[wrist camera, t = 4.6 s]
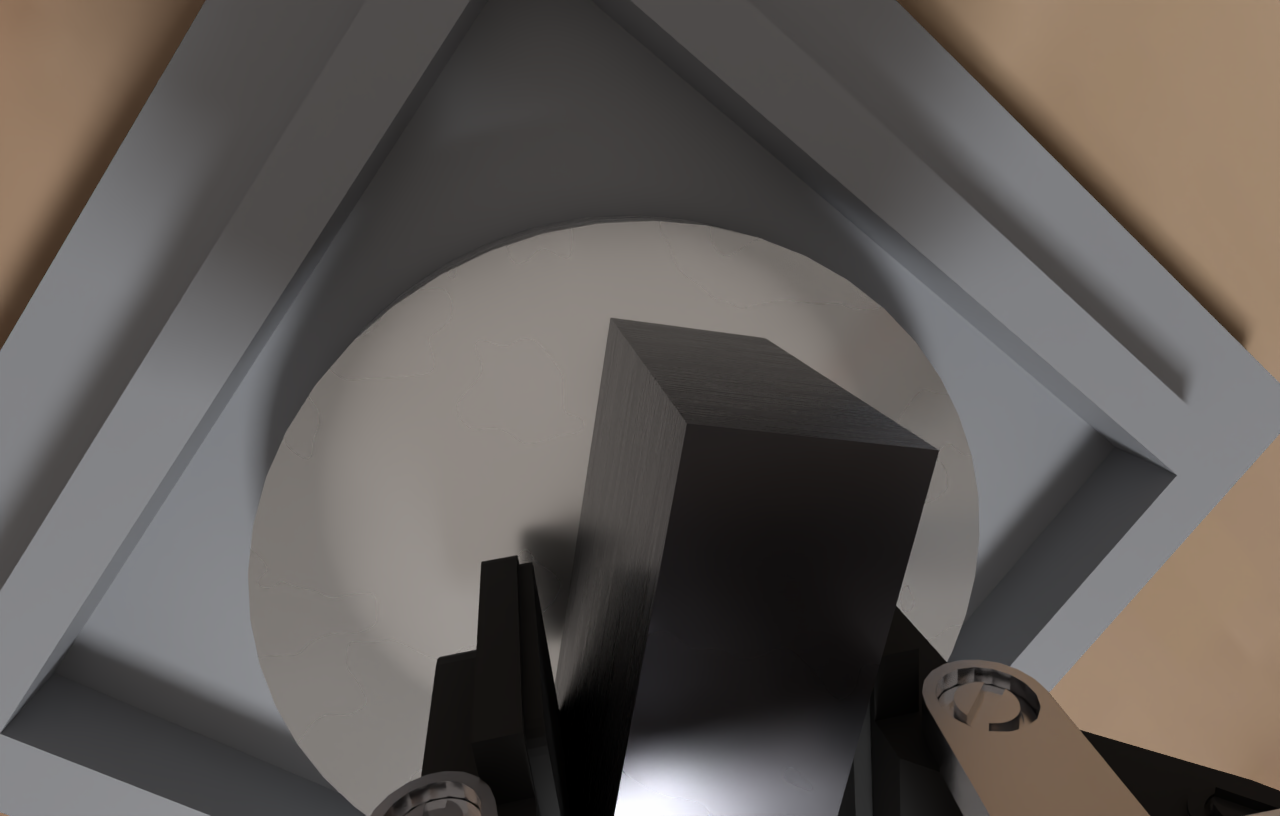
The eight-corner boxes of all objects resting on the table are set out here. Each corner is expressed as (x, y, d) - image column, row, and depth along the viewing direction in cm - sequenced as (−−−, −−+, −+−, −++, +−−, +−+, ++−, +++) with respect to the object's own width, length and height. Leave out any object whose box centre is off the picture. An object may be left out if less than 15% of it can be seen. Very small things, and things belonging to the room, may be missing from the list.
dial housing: (465, -359, 11) (453, -537, 8) (1238, 387, 17) (1381, 430, 14) (-150, 674, 14) (-315, 802, 11) (699, 1005, 20) (731, 1142, 17)
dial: (290, 155, 11) (40, 140, 5) (1009, 271, 14) (1413, 354, 8) (264, 820, 15) (90, 1295, 8) (853, 819, 17) (1050, 1187, 11)
